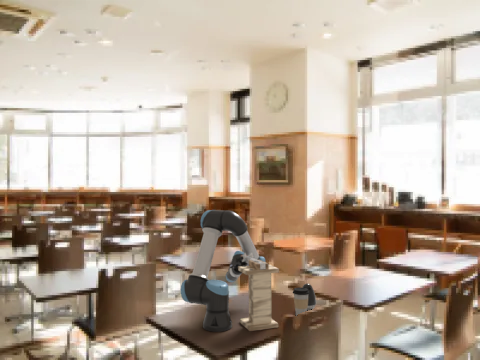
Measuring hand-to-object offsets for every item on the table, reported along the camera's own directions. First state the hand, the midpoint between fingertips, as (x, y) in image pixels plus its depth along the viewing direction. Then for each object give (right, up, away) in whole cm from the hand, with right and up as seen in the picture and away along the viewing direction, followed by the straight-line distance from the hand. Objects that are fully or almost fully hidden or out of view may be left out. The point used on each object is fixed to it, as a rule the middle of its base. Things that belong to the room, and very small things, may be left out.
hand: (248, 255), depth 228 cm
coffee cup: (+29, -35, +1) cm, 45 cm away
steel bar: (+2, -4, -6) cm, 7 cm away
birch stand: (+5, -34, -14) cm, 37 cm away
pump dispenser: (+35, -35, +13) cm, 51 cm away
